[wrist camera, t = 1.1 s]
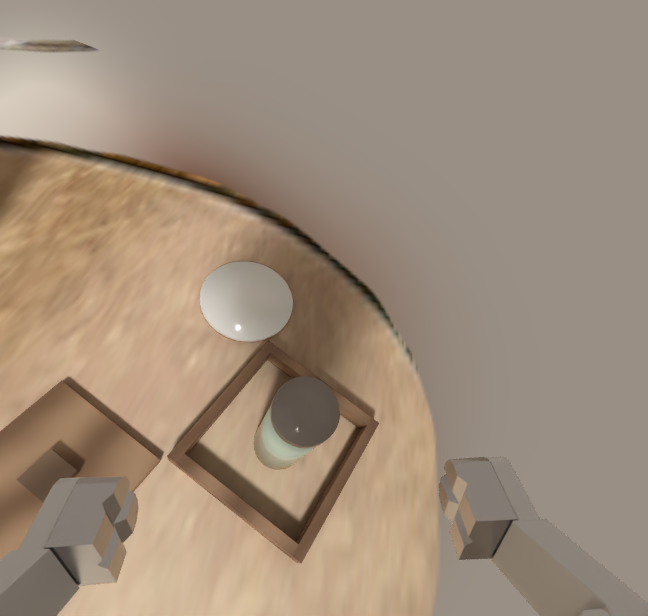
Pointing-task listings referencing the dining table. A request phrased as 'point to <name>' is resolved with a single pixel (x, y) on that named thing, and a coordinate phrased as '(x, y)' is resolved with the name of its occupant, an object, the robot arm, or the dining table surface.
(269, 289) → the coaster
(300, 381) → the sage jar
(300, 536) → the walnut box
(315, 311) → the dining table surface
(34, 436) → the box lid
